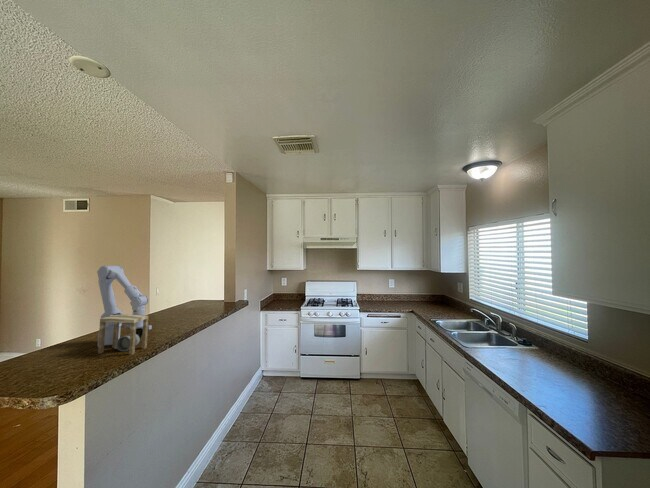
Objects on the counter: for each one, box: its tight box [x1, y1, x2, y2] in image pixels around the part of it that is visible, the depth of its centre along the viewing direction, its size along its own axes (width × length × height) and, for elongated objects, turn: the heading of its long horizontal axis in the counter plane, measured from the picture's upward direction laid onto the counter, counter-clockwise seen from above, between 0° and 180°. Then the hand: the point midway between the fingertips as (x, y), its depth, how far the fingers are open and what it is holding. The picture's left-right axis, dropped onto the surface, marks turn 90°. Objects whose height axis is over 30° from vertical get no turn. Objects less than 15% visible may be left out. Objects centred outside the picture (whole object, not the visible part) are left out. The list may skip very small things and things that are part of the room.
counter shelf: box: [97, 313, 149, 356], centre depth 134 cm, size 10×18×18 cm, turn 88°
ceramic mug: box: [113, 333, 141, 352], centre depth 136 cm, size 11×8×8 cm
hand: (137, 341), depth 143 cm, fingers closed
